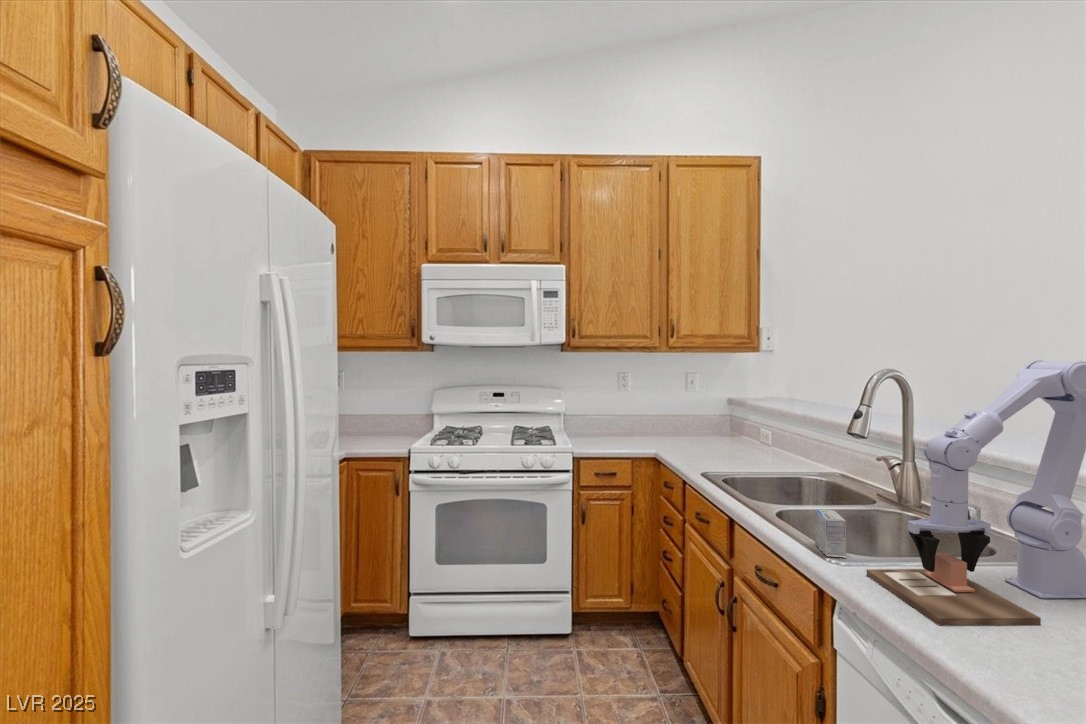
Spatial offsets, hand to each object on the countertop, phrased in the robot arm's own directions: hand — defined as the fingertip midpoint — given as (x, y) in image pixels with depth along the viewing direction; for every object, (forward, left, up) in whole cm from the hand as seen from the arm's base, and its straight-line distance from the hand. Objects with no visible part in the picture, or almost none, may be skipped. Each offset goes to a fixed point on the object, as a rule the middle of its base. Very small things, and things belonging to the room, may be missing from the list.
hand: (948, 569), depth 102 cm
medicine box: (+12, -20, -4) cm, 24 cm away
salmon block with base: (0, 0, -2) cm, 3 cm away
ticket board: (+3, +3, -4) cm, 6 cm away
